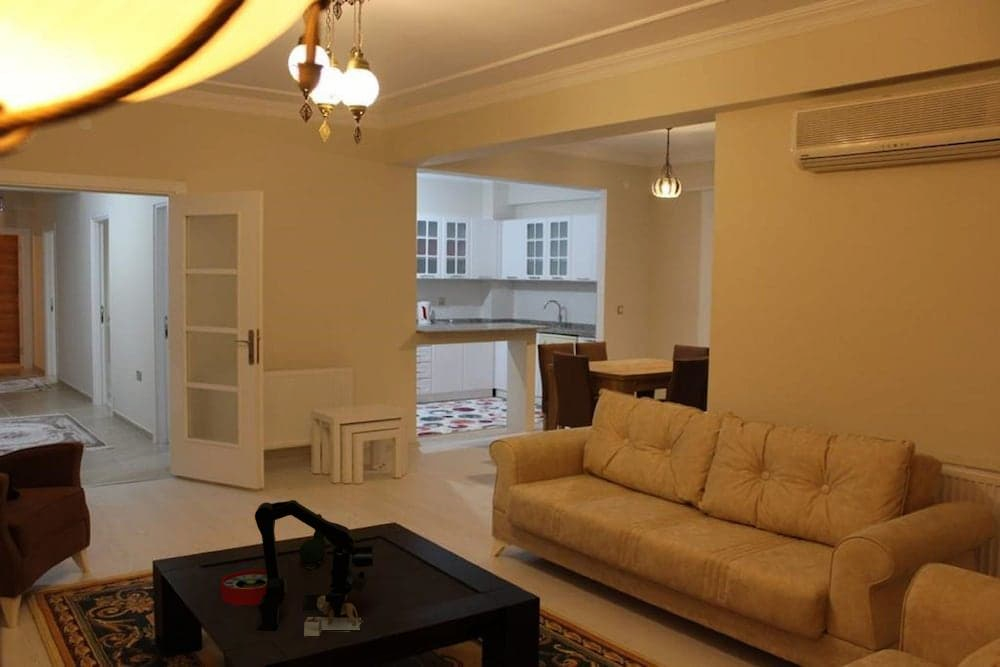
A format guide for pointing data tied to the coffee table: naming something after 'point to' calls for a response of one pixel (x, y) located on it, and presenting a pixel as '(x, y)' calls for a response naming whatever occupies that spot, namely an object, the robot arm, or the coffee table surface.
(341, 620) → the grey mat
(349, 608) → the lion figurine
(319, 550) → the toy figurine
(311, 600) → the phone
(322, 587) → the coffee table surface
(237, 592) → the toy clock
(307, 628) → the maple cube
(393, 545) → the coffee table surface
